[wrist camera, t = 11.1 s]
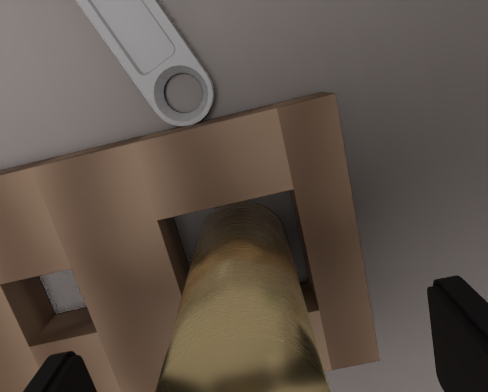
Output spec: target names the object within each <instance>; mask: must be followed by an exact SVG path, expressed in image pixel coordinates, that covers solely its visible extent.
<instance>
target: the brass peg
mask: <svg viewBox="0 0 488 392" xmlns="http://www.w3.org/2000/svg"><path fill="white" fill-rule="evenodd" d="M155 392H330V388H329V385H328V381H327V378H326V374H325V371H324V367H323V364H322V360H321V357H320V353H319V350H318V346H317V343H316V339H315V336H314V332H313V329H312V325H311V322H310V318H309V315H308V311H307V308H306V304H305V300H304V297H303V293H302V290H301V286H300V283H299V279H298V276H297V272H296V269H295V265H294V262H293V258H292V255H291V251H290V248H289V244H288V241H287V237H286V234H285V230H284V227H283V225H282V223H281V222H280V220H279V218H278V217H277V216H276V215H275V214H274V213H273V212H272V211H271V210H269V209H268V208H266V207H264V206H262V205H260V204H257V203H254V202H249V201H240V202H236V203H231V204H227V205H223V206H221V207H219V208H217V209H216V210H215V211H213V212H212V213H211V214H210V215H209V216H208V217H207V219H206V220H205V221H204V223H203V225H202V228H201V230H200V234H199V237H198V241H197V244H196V248H195V251H194V255H193V259H192V262H191V266H190V269H189V273H188V277H187V280H186V284H185V287H184V291H183V294H182V298H181V302H180V305H179V309H178V312H177V316H176V319H175V323H174V327H173V330H172V334H171V337H170V341H169V345H168V348H167V352H166V355H165V359H164V362H163V366H162V370H161V373H160V377H159V380H158V384H157V387H156V391H155Z"/></svg>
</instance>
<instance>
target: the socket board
mask: <svg viewBox="0 0 488 392" xmlns="http://www.w3.org/2000/svg"><path fill="white" fill-rule="evenodd" d="M288 190H290V192H291V197H292V201H293V206H294V211H295V215H296V220H297V225H298V229H299V234H300V239H301V244H302V248H303V253H304V258H305V262H306V267H307V272H308V276H309V281H310V282H306V283H301V284H300V286H301V290H302V293H303V297H304V300H305V304H306V308H307V311H308V315H309V318H310V322H311V325H312V329H313V332H314V336H315V339H316V343H317V346H318V350H319V353H320V357H321V360H322V364H323V367H324V371H330V370H335V369H340V368H345V367H350V366H355V365H360V364H365V363H370V362H375V361H380V359H379V353H378V347H377V341H376V335H375V329H374V323H373V317H372V311H371V305H370V299H369V293H368V287H367V281H366V275H365V269H364V263H363V257H362V251H361V245H360V239H359V233H358V227H357V221H356V215H355V209H354V203H353V197H352V191H351V185H350V179H349V173H348V167H347V161H346V155H345V149H344V143H343V137H342V131H341V124H340V118H339V112H338V106H337V100H336V94H333V93H326V92H320V93H316V94H312V95H307V96H303V97H299V98H295V99H291V100H287V101H283V102H279V103H275V104H271V105H267V106H262V107H258V108H254V109H250V110H246V111H242V112H238V113H234V114H230V115H226V116H222V117H217V118H213V119H209V120H205V121H201V122H197V123H195V124H193V125H189V126H182V127H177V128H172V129H168V130H164V131H160V132H156V133H152V134H148V135H144V136H140V137H136V138H132V139H127V140H123V141H119V142H115V143H111V144H107V145H103V146H99V147H95V148H91V149H87V150H82V151H78V152H74V153H70V154H66V155H62V156H58V157H54V158H50V159H46V160H41V161H37V162H33V163H29V164H25V165H21V166H17V167H13V168H9V169H5V170H1V171H0V392H23V391H24V389H25V388H26V387H27V385H28V384H29V382H30V381H31V380H32V378H33V377H34V375H35V374H36V373H37V371H38V370H39V368H40V367H41V366H42V364H43V363H44V362H45V360H46V359H47V358H48V357H49V356H50V355H52V354H57V353H62V352H67V351H73V352H75V353H76V355H80V356H81V357H82V358H83V360H84V363H85V365H86V367H87V369H88V372H89V374H90V376H91V379H92V381H93V383H94V386H95V388H96V390H97V392H155V391H156V387H157V384H158V380H159V377H160V373H161V370H162V366H163V362H164V359H165V355H166V352H167V348H168V345H169V341H170V337H171V334H172V330H173V327H174V323H175V319H176V316H177V312H178V309H179V305H180V302H181V298H182V294H183V291H184V287H185V284H186V280H187V277H188V273H189V267H188V263H187V260H186V257H185V254H184V251H183V247H182V244H181V241H180V238H179V234H178V231H177V228H176V225H175V221H174V218H173V217H175V216H179V215H183V214H188V213H192V212H197V211H201V210H205V209H210V208H214V207H218V206H223V205H227V204H231V203H236V202H240V201H245V200H249V199H253V198H258V197H262V196H266V195H271V194H275V193H279V192H284V191H288ZM67 269H72V271H73V274H74V276H75V279H76V281H77V284H78V286H79V289H80V291H81V293H82V296H83V298H84V301H85V303H86V306H87V308H83V309H78V310H74V311H69V312H64V313H60V314H55V313H54V311H53V308H52V306H51V304H50V302H49V299H48V297H47V295H46V292H45V290H44V288H43V285H42V283H41V281H40V279H39V276H40V275H44V274H49V273H53V272H58V271H62V270H67Z"/></svg>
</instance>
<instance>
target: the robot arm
mask: <svg viewBox="0 0 488 392" xmlns="http://www.w3.org/2000/svg"><path fill="white" fill-rule="evenodd" d="M427 294H428V303H429V312H430V321H431V330H432V339H433V347H434V356H435V365H436V373H437V377H438V380H439V382H440V385H441V387H442V389H443V390H444V392H488V303H487V302H486V301H485V300H484V299H483V298H482V297H481V296H480V295H479V294H478V293H477V292H476V291H475V290H474V289H473V288H472V287H471V286H470V285H469V284H468V283H467V282H466V281H465V280H463V279H462V278H461V277H460V276H457V275H456V276H451V277H446V278H441V279H436V280H434V283H433V286H431V287H428V289H427ZM23 392H97V390H96V388H95V386H94V383H93V381H92V379H91V376H90V374H89V372H88V369H87V367H86V365H85V363H84V360H83V358H82V357H81V356H80V355H76V353H75V352H73V351H67V352H62V353H57V354H52V355H50V356H49V357H48V358H47V359H46V360H45V362H44V363H43V364H42V366H41V367H40V368H39V370H38V371H37V373H36V374H35V375H34V377H33V378H32V380H31V381H30V382H29V384H28V385H27V387H26V388H25V389H24V391H23Z"/></svg>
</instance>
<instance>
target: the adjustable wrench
mask: <svg viewBox="0 0 488 392" xmlns="http://www.w3.org/2000/svg"><path fill="white" fill-rule="evenodd" d="M76 1H77V3H78V4H79V6H80V7H81V8H82V10H83V11H84V13H85V14H86V15H87V17H88V18H89V20H90V21H91V22H92V24H93V25H94V27H95V28H96V29H97V31H98V32H99V34H100V35H101V37H102V38H103V39H104V41H105V42H106V44H107V45H108V46H109V48H110V49H111V51H112V52H113V53H114V55H115V56H116V58H117V59H118V60H119V62H120V63H121V65H122V66H123V68H124V69H125V70H126V72H127V73H128V75H129V76H130V77H131V79H132V80H133V82H134V83H135V84H136V86H137V87H138V89H139V90H140V91H141V93H142V94H143V96H144V97H145V98H146V100H147V101H148V103H149V104H150V106H151V107H152V108H153V110H154V111H155V113H156V114H157V115H158V116H159V117H160V118H161V119H162V120H164V121H166V122H168V123H170V124H171V125H176V126H181V127H182V126H189V125H193V124H195V123H197V122H199V121H201V120H202V119H203V118H204V117H205V116H206V115H207V114H208V113H209V111H210V109H211V107H212V105H213V103H214V96H215V91H214V84H213V82H212V80H211V78H210V76H209V74H208V73H207V71H206V70H205V68H204V67H203V65H202V64H201V63H200V61H199V60H198V58H197V57H196V55H195V54H194V53H193V51H192V50H191V48H190V47H189V45H188V44H187V42H186V41H185V40H184V38H183V37H182V35H181V34H180V32H179V31H178V30H177V28H176V27H175V25H174V24H173V22H172V21H171V20H170V18H169V17H168V15H167V14H166V12H165V11H164V9H163V8H162V7H161V5H160V4H159V2H158V1H157V0H76ZM177 73H188V74H190V75H192V76H194V77H195V78H196V79H197V80H198V81H199V82H200V84H201V86H202V90H203V98H202V102H201V104H200V106H199V107H198V108H197V109H196V110H194V111H192V112H190V113H179V112H176V111H174V110H172V109H171V108H170V107H169V106H168V104H167V102H166V101H165V98H164V86H165V84H166V82H167V80H168V79H169V78H170V77H171V76H173V75H175V74H177Z"/></svg>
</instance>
